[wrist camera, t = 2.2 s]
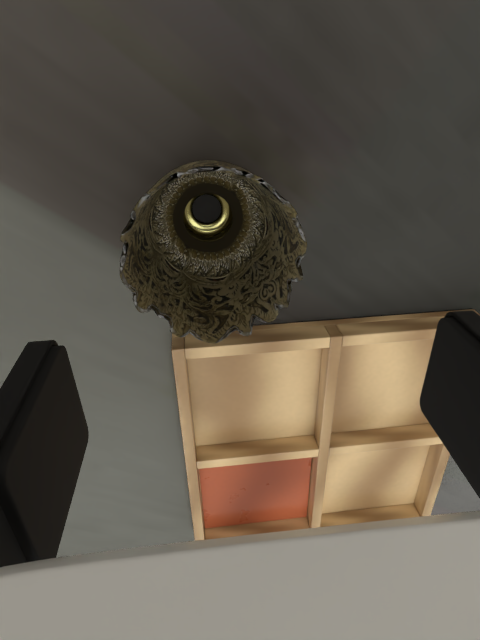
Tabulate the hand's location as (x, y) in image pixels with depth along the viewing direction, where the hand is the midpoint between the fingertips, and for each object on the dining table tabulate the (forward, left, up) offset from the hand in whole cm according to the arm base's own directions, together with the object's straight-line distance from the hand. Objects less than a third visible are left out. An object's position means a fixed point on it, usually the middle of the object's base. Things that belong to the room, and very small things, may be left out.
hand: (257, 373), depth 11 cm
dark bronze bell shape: (-1, 0, -15) cm, 15 cm away
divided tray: (+7, -18, -15) cm, 25 cm away
